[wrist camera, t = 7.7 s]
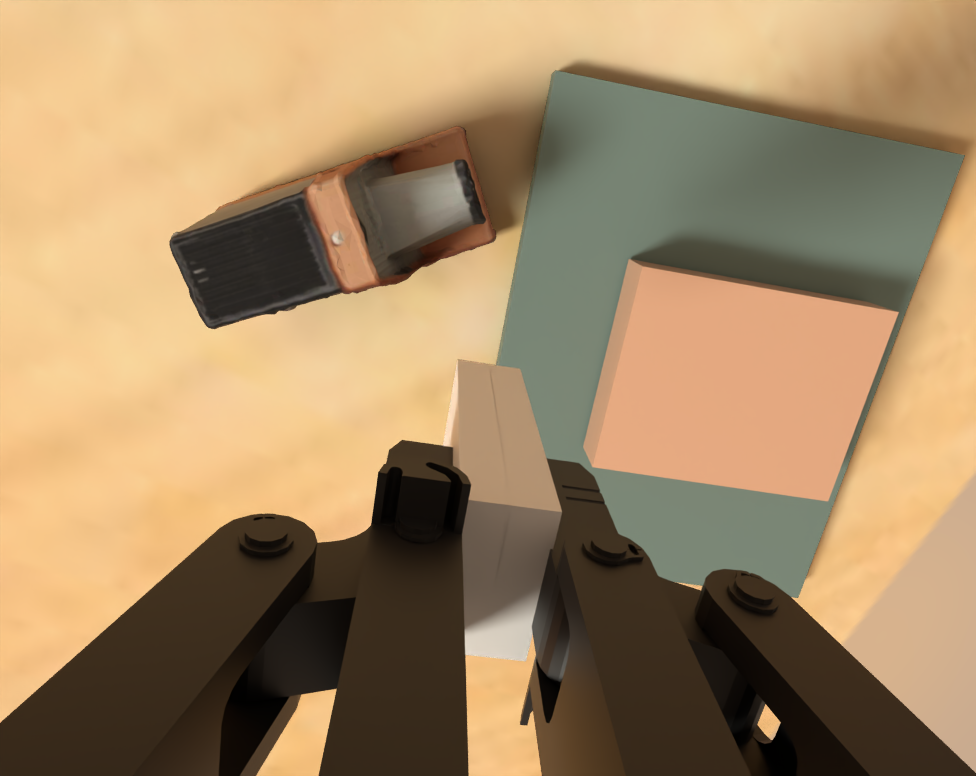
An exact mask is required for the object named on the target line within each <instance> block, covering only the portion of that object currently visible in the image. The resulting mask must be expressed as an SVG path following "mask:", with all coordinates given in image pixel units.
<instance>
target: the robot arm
mask: <svg viewBox="0 0 976 776" xmlns="http://www.w3.org/2000/svg"><path fill="white" fill-rule="evenodd" d="M532 634H533V638H534V644H535V651H536V657H535V661H534V665H533V669H532V673H531V677H530V681H529V685H528V689H527V693H526V697H525V701H524V705H523V709H522V714H521V721H520V725H527V724H528V720H529V716H530V713H531V712H532V711H533V713H534V721H535V728H536V735H537V743H538V750H539V757H540V765H541V772H542V776H976V773H975V772H974V771H973V770H972V769H971V768H970V767H969V766H968V765H967V764H966V763H965V762H964V761H962V760H961V759H960V758H959V757H958V756H957V755H956V754H955V753H954V752H953V751H952V750H951V749H950V748H949V747H948V746H947V745H946V744H945V743H943V741H942V740H940V739H939V738H938V737H937V736H936V735H935V734H934V733H933V732H932V731H931V730H930V729H929V728H928V727H927V726H926V725H925V724H924V723H923V722H922V721H920V719H918V718H917V717H916V716H915V715H914V714H913V713H912V712H911V711H910V710H909V709H908V708H907V707H906V706H905V705H904V704H903V703H902V702H900V701H899V700H898V699H897V698H896V697H895V696H894V695H893V694H892V693H891V692H890V691H889V690H888V689H887V688H886V687H885V686H884V685H883V684H882V683H881V682H880V681H879V680H877V679H876V678H875V677H874V676H873V675H872V674H871V673H870V672H869V671H868V670H867V669H866V668H865V667H864V666H863V665H862V664H861V663H860V662H858V661H857V660H856V659H855V658H854V657H853V656H852V655H851V654H850V653H849V652H848V651H847V650H846V649H845V648H844V647H843V646H842V645H841V644H840V643H839V642H838V641H836V640H835V639H834V638H833V637H832V636H831V635H830V634H829V633H828V632H827V631H826V630H825V629H824V628H823V627H822V626H821V625H820V624H819V623H818V622H816V621H815V620H814V619H813V618H812V617H811V616H810V615H809V614H808V613H807V612H806V611H805V610H804V609H803V608H802V607H801V606H800V605H799V604H798V603H797V602H795V601H794V600H793V599H792V598H791V597H790V596H789V595H788V594H787V593H785V592H784V591H783V590H781V589H780V588H779V587H777V586H776V585H775V584H773V583H771V582H769V581H767V580H765V579H763V578H762V577H761V576H759V575H756V574H754V573H749V572H747V571H743V570H732V569H721V570H716V571H712V572H711V573H710V574H709V575H708V576H707V577H706V578H705V581H704V584H703V587H702V590H701V591H700V590H697V589H694V588H691V587H688V586H685V585H682V584H679V583H675V582H672V581H670V580H667V579H664V578H662V577H659V576H658V575H657V572H656V570H655V568H654V566H653V564H652V562H651V560H650V557H649V556H648V555H647V554H646V552H645V551H644V550H643V548H642V547H640V546H639V545H638V544H636V543H635V542H633V541H632V540H631V539H629V538H627V537H624V536H622V535H620V534H618V532H617V529H616V527H615V525H614V522H613V520H612V517H611V515H610V513H609V510H608V508H607V505H605V501H604V498H603V496H602V494H601V493H600V489H599V486H598V484H597V482H596V479H595V477H594V476H593V475H592V474H591V473H590V472H589V471H588V470H587V469H585V468H584V467H583V466H582V465H581V464H580V463H576V462H569V461H562V460H555V459H548V458H546V455H545V452H544V448H543V445H542V442H541V438H540V435H539V431H538V428H537V425H536V421H535V418H534V414H533V411H532V408H531V404H530V401H529V397H528V394H527V390H526V387H525V384H524V380H523V377H522V373H521V370H520V369H518V368H511V367H505V366H498V365H492V364H485V363H479V362H472V361H466V360H459V359H458V360H457V366H456V372H455V378H454V383H453V389H452V395H451V401H450V407H449V413H448V419H447V425H446V431H445V437H444V443H443V446H441V445H434V444H427V443H420V442H412V441H405V440H402V441H400V442H399V443H398V444H396V445H395V446H394V447H393V448H391V449H390V450H389V453H388V458H387V463H386V464H384V465H383V466H382V468H381V469H380V471H379V472H378V479H377V487H376V494H375V501H374V509H373V516H372V523H371V526H370V527H369V528H368V529H367V530H366V531H364V532H363V533H361V534H359V535H357V536H355V537H352V538H348V539H345V540H340V541H333V542H322V543H317V539H316V536H315V533H314V531H313V530H312V529H311V528H310V527H308V526H307V525H306V524H305V523H304V522H301V521H299V520H296V519H294V518H291V517H289V516H282V515H276V514H255V515H249V516H246V517H242V518H238V519H235V520H233V521H231V522H229V523H228V524H226V525H224V526H223V527H221V528H219V529H218V530H217V531H216V532H215V533H214V534H213V535H212V536H210V537H209V538H208V539H207V540H206V541H205V542H204V543H203V544H201V545H200V546H199V547H198V548H197V549H196V550H195V551H194V552H192V553H191V554H190V555H189V556H188V557H187V558H186V559H185V560H183V561H182V562H181V563H180V564H179V565H178V566H177V567H175V568H174V569H173V570H172V571H171V572H170V573H169V574H168V575H166V576H165V577H164V578H163V579H162V580H161V581H160V582H159V583H157V584H156V585H155V586H154V587H153V588H152V589H151V590H150V591H148V592H147V593H146V594H145V595H144V596H143V597H142V598H141V599H139V600H138V601H137V602H136V603H135V604H134V605H133V606H131V607H130V608H129V609H128V610H127V611H126V612H125V613H124V614H122V615H121V616H120V617H119V618H118V619H117V620H116V621H115V622H113V623H112V624H111V625H110V626H109V627H108V628H107V629H106V630H104V631H103V632H102V633H101V634H100V635H99V636H98V637H97V638H95V639H94V640H93V641H92V642H91V643H90V644H89V645H87V646H86V647H85V648H84V649H83V650H82V651H81V652H80V653H78V654H77V655H76V656H75V657H74V658H73V659H72V660H71V661H69V662H68V663H67V664H66V665H65V666H64V667H63V668H62V669H60V670H59V671H58V672H57V673H56V674H55V675H54V676H53V677H51V678H50V679H49V680H48V681H47V682H46V683H45V684H44V685H42V686H41V687H40V688H39V689H38V690H37V691H36V692H34V693H33V694H32V695H31V696H30V697H29V698H28V699H27V700H25V701H24V702H23V703H22V704H21V705H20V706H19V707H18V708H16V709H15V710H14V711H13V712H12V713H11V714H10V715H9V716H7V717H6V718H5V719H4V720H3V721H2V722H1V723H0V776H256V775H257V773H258V771H259V770H260V768H261V766H262V765H263V763H264V761H265V760H266V758H267V756H268V755H269V753H270V751H271V750H272V748H273V746H274V745H275V743H276V742H277V740H278V738H279V737H280V735H281V733H282V732H283V730H284V728H285V727H286V725H287V723H288V722H289V720H290V718H291V717H292V715H293V713H294V712H295V710H296V708H297V706H298V703H299V700H300V697H301V694H307V693H313V692H319V691H325V690H331V689H337V691H336V695H335V700H334V705H333V710H332V715H331V719H330V724H329V729H328V734H327V738H326V743H325V748H324V753H323V758H322V762H321V767H320V772H319V776H468V738H467V701H466V664H465V655H472V656H482V657H491V658H500V659H510V660H519V661H526V659H527V655H528V651H529V647H530V642H531V638H532ZM765 704H766V705H767V706H768V707H769V708H770V710H771V711H772V712H773V713H774V715H775V716H776V717H777V718H778V719H779V721H780V722H781V723H780V726H779V728H778V731H777V733H776V736H775V737H774V739H773V740H770V739H769V738H768V737H767V736H766V735H765V734H764V733H763V732H762V730H761V729H760V728H759V726H758V725H757V724H758V721H759V719H760V716H761V714H762V711H763V709H764V706H765Z"/></svg>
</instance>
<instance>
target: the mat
mask: <svg viewBox="0 0 976 776" xmlns="http://www.w3.org/2000/svg"><path fill="white" fill-rule="evenodd" d="M964 156H965V155H961V154H956V153H951V152H947V151H942V150H937V149H932V148H927V147H923V146H918V145H913V144H908V143H903V142H898V141H894V140H889V139H884V138H879V137H874V136H870V135H865V134H860V133H855V132H850V131H845V130H841V129H836V128H831V127H826V126H821V125H817V124H812V123H807V122H802V121H797V120H793V119H788V118H783V117H778V116H773V115H768V114H764V113H759V112H754V111H749V110H744V109H740V108H735V107H730V106H725V105H720V104H715V103H711V102H706V101H701V100H696V99H691V98H687V97H682V96H677V95H672V94H667V93H662V92H658V91H653V90H648V89H643V88H638V87H634V86H629V85H624V84H619V83H614V82H609V81H605V80H600V79H595V78H590V77H585V76H581V75H576V74H571V73H566V72H561V71H557V70H556V71H555V72H553V73H552V76H551V81H550V87H549V92H548V97H547V102H546V107H545V113H544V118H543V123H542V128H541V134H540V139H539V144H538V149H537V154H536V160H535V165H534V170H533V175H532V181H531V186H530V191H529V196H528V201H527V207H526V212H525V217H524V222H523V227H522V233H521V238H520V243H519V248H518V254H517V259H516V264H515V269H514V274H513V280H512V285H511V290H510V295H509V301H508V306H507V311H506V316H505V321H504V327H503V332H502V337H501V342H500V347H499V353H498V358H497V363H496V365H498V366H505V367H511V368H518V369H520V370H521V373H522V377H523V380H524V384H525V387H526V390H527V394H528V397H529V401H530V404H531V408H532V411H533V414H534V418H535V421H536V425H537V428H538V431H539V435H540V438H541V442H542V445H543V448H544V452H545V455H546V458H548V459H555V460H562V461H569V462H576V463H580V464H581V465H582V466H583V467H584V468H585V469H587V470H588V471H589V472H590V473H591V474H592V475H593V476H594V477H595V479H596V482H597V484H598V486H599V489H600V493H601V494H602V496H603V498H604V501H605V505H607V508H608V510H609V513H610V515H611V517H612V520H613V522H614V525H615V527H616V529H617V532H618V534H620V535H622V536H624V537H627V538H629V539H631V540H632V541H633V542H635V543H636V544H638V545H639V546H640V547H642V548H643V550H644V551H645V552H646V554H647V555H648V556H649V557H650V560H651V562H652V564H653V566H654V568H655V570H656V572H657V575H658V576H659V577H662V578H664V579H667V580H670V581H672V582H678V583H686V584H694V585H702V586H703V584H704V581H705V578H706V577H707V576H708V575H709V574H710V573H711V572H712V571H716V570H721V569H732V570H743V571H747V572H749V573H754V574H756V575H759V576H761V577H762V578H763V579H765V580H767V581H769V582H771V583H773V584H775V585H776V586H777V587H779V588H780V589H781V590H783V591H784V592H785V593H787V594H788V595H789V596H790V597H795V598H798V597H799V594H800V592H801V589H802V586H803V584H804V581H805V578H806V576H807V573H808V570H809V568H810V565H811V562H812V560H813V557H814V554H815V552H816V549H817V546H818V544H819V541H820V539H821V536H822V533H823V531H824V528H825V525H826V523H827V520H828V517H829V515H830V512H831V509H832V507H833V504H834V501H835V499H836V496H837V493H838V491H839V488H840V485H841V483H842V480H843V478H844V475H845V472H846V470H847V467H848V464H849V462H850V459H851V456H852V454H853V451H854V448H855V446H856V443H857V440H858V438H859V435H860V432H861V430H862V427H863V424H864V422H865V419H866V416H867V414H868V411H869V409H870V406H871V403H872V401H873V398H874V395H875V393H876V390H877V387H878V385H879V382H880V379H881V377H882V374H883V371H884V369H885V366H886V363H887V361H888V358H889V355H890V353H891V350H892V348H893V345H894V342H895V340H896V337H897V334H898V332H899V329H900V326H901V324H902V321H903V318H904V316H905V313H906V310H907V308H908V305H909V302H910V300H911V297H912V294H913V292H914V289H915V286H916V284H917V281H918V279H919V276H920V273H921V271H922V268H923V265H924V263H925V260H926V257H927V255H928V252H929V249H930V247H931V244H932V241H933V239H934V236H935V233H936V231H937V228H938V225H939V223H940V220H941V218H942V215H943V212H944V210H945V207H946V204H947V202H948V199H949V196H950V194H951V191H952V188H953V186H954V183H955V180H956V178H957V175H958V172H959V170H960V167H961V164H962V162H963V159H964ZM629 259H632V260H638V261H643V262H649V263H654V264H660V265H666V266H671V267H677V268H682V269H688V270H693V271H699V272H704V273H710V274H716V275H721V276H727V277H732V278H738V279H743V280H749V281H754V282H760V283H766V284H771V285H777V286H782V287H788V288H793V289H799V290H805V291H810V292H816V293H821V294H827V295H832V296H838V297H843V298H849V299H855V300H860V301H866V302H870V303H873V304H876V305H879V306H881V307H884V308H887V309H890V310H893V311H896V312H899V313H898V316H897V318H896V321H895V324H894V326H893V329H892V332H891V334H890V337H889V340H888V342H887V345H886V348H885V350H884V353H883V356H882V358H881V361H880V364H879V367H878V369H877V372H876V375H875V377H874V380H873V383H872V385H871V388H870V391H869V393H868V396H867V399H866V401H865V404H864V407H863V409H862V412H861V415H860V417H859V420H858V423H857V425H856V428H855V431H854V433H853V436H852V439H851V441H850V444H849V447H848V449H847V452H846V455H845V458H844V460H843V463H842V466H841V468H840V471H839V474H838V476H837V479H836V482H835V484H834V487H833V490H832V492H831V495H830V498H829V500H828V501H821V500H815V499H808V498H801V497H794V496H787V495H780V494H773V493H766V492H760V491H753V490H746V489H739V488H732V487H725V486H718V485H712V484H705V483H698V482H691V481H684V480H677V479H670V478H663V477H657V476H650V475H643V474H636V473H629V472H622V471H615V470H609V469H602V468H595V467H592V465H591V463H590V461H589V459H588V456H587V454H586V452H585V450H584V448H583V445H584V441H585V437H586V433H587V429H588V425H589V421H590V416H591V412H592V408H593V404H594V400H595V396H596V392H597V388H598V383H599V379H600V375H601V371H602V367H603V363H604V359H605V355H606V350H607V346H608V342H609V338H610V334H611V330H612V326H613V322H614V317H615V313H616V309H617V305H618V301H619V297H620V293H621V289H622V284H623V280H624V276H625V272H626V268H627V264H628V260H629Z"/></svg>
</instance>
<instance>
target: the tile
mask: <svg viewBox="0 0 976 776" xmlns="http://www.w3.org/2000/svg"><path fill="white" fill-rule="evenodd" d="M898 313H899V312H896V311H893V310H890V309H887V308H884V307H881V306H879V305H876V304H873V303H870V302H866V301H860V300H855V299H849V298H843V297H838V296H832V295H827V294H821V293H816V292H810V291H805V290H799V289H793V288H788V287H782V286H777V285H771V284H766V283H760V282H754V281H749V280H743V279H738V278H732V277H727V276H721V275H716V274H710V273H704V272H699V271H693V270H688V269H682V268H677V267H671V266H666V265H660V264H654V263H649V262H643V261H638V260H632V259H629V260H628V264H627V268H626V272H625V276H624V280H623V284H622V289H621V293H620V297H619V301H618V305H617V309H616V313H615V317H614V322H613V326H612V330H611V334H610V338H609V342H608V346H607V350H606V355H605V359H604V363H603V367H602V371H601V375H600V379H599V383H598V388H597V392H596V396H595V400H594V404H593V408H592V412H591V416H590V421H589V425H588V429H587V433H586V437H585V441H584V445H583V448H584V450H585V452H586V454H587V456H588V459H589V461H590V463H591V465H592V467H595V468H602V469H609V470H615V471H622V472H629V473H636V474H643V475H650V476H657V477H663V478H670V479H677V480H684V481H691V482H698V483H705V484H712V485H718V486H725V487H732V488H739V489H746V490H753V491H760V492H766V493H773V494H780V495H787V496H794V497H801V498H808V499H815V500H821V501H828V500H829V498H830V495H831V492H832V490H833V487H834V484H835V482H836V479H837V476H838V474H839V471H840V468H841V466H842V463H843V460H844V458H845V455H846V452H847V449H848V447H849V444H850V441H851V439H852V436H853V433H854V431H855V428H856V425H857V423H858V420H859V417H860V415H861V412H862V409H863V407H864V404H865V401H866V399H867V396H868V393H869V391H870V388H871V385H872V383H873V380H874V377H875V375H876V372H877V369H878V367H879V364H880V361H881V358H882V356H883V353H884V350H885V348H886V345H887V342H888V340H889V337H890V334H891V332H892V329H893V326H894V324H895V321H896V318H897V316H898Z"/></svg>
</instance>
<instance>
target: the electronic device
mask: <svg viewBox="0 0 976 776" xmlns="http://www.w3.org/2000/svg"><path fill="white" fill-rule="evenodd" d="M495 239H496V231H495V230H494V229H493V228H492V224H491V221H490V217H489V214H488V210H487V207H486V204H485V200H484V197H483V194H482V190H481V187H480V184H479V181H478V177H477V174H476V171H475V167H474V164H473V161H472V158H471V154H470V151H469V147H468V143H467V139H466V131H465V129H464V128H462V127H458V126H455V127H453V128H451V129H448V130H446V131H443V132H440V133H437V134H434V135H431V136H428V137H426V138H422V139H420V140H417V141H413V142H409V143H407V144H405V145H402V146H397V147H394V148H391V149H389V150H387V151H382V152H381V153H378V154H377V153H374V154H373V155H371V156H370V155H365V156H364V157H362V158H360V159H359V160H355V161H352V162H349V163H347V164H341V165H339V166H337V167H335V168H332V169H329V170H326V171H324V172H319V173H318V174H315V175H312V176H308V177H305V178H302V179H300V180H297V181H294V182H291V183H288V184H285V185H277V186H276V187H275V188H273V189H270V190H267V191H264V192H261V193H258V194H255V195H252V196H249V197H246V198H242V199H239V200H236V201H233V202H230V203H227V204H225V205H223V206H220V207H219V208H218V209H217V210H216V212H215V213H213V214H210V215H208V216H207V217H205V218H204V219H202V220H200V221H198V222H197V223H195V224H194V225H192V226H190V227H189V228H187V229H185V230H183V231H181V232H175V233H174V234H173V235H172V237H171V240H170V248H171V251H172V254H173V256H174V258H175V260H176V262H177V264H178V266H179V269H180V271H181V274H182V276H183V278H184V280H185V282H186V284H187V286H188V288H189V293H190V297H191V299H192V301H193V303H194V304H195V306H196V308H197V311H198V313H199V316H200V317H201V319H202V320H203V322H204V323H205V325H206V326H207V327H208V328H211V329H217V328H219V327H222V326H226V325H229V324H233V323H236V322H239V321H242V320H246V319H249V318H253V317H257V316H260V315H264V314H276V313H277V312H278V311H289V310H292V309H294V308H296V306H297V305H301V304H306V303H308V302H312V301H315V300H319V299H322V298H328V297H330V296H333V295H337V294H340V293H344V294H350V293H352V292H353V293H359V292H362V291H366V290H367V289H370V288H374V287H378V286H387V285H394V284H397V283H400V282H402V281H404V280H407V279H408V278H409V277H410V276H411V275H412V274H413V273H414V272H415V271H417V270H418V269H419V268H421V267H428V266H429V265H431V264H433V263H435V262H437V261H438V260H440V259H444V258H448V257H451V256H455V255H457V254H459V253H461V252H464V251H467V250H473V249H475V248H477V247H480V246H483V245H486V244H489V243H492V242H494V241H495Z"/></svg>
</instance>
